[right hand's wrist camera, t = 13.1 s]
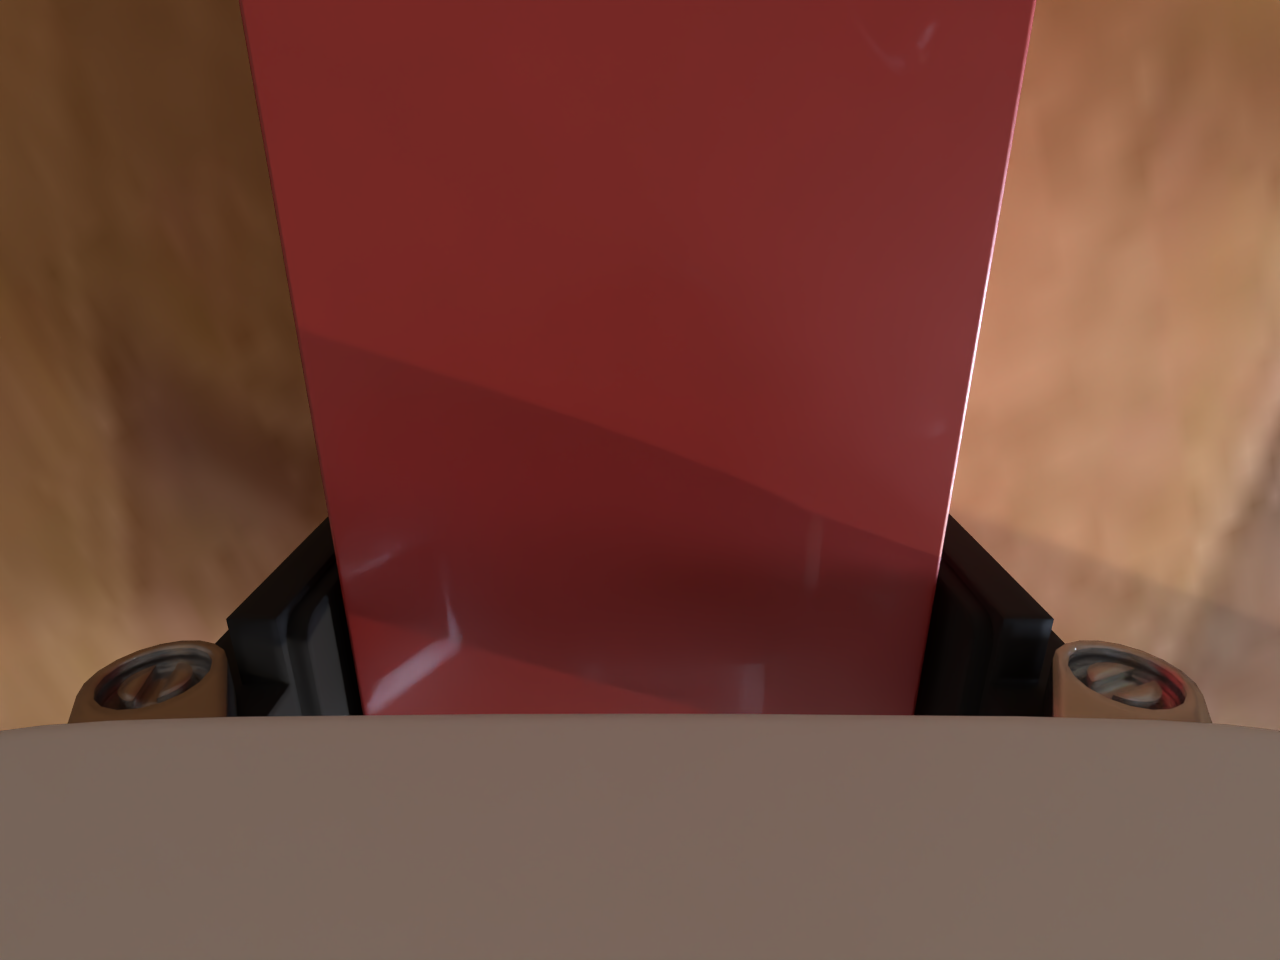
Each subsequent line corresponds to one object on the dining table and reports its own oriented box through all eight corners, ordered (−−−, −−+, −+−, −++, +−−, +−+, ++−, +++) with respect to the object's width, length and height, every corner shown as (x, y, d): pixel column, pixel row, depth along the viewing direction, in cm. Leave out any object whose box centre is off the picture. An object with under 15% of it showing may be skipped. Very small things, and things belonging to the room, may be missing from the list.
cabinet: (403, -583, 10) (-240, -2701, 3) (875, -583, 10) (1509, -2713, 3) (503, 640, 17) (403, 959, 10) (776, 640, 17) (873, 959, 10)
